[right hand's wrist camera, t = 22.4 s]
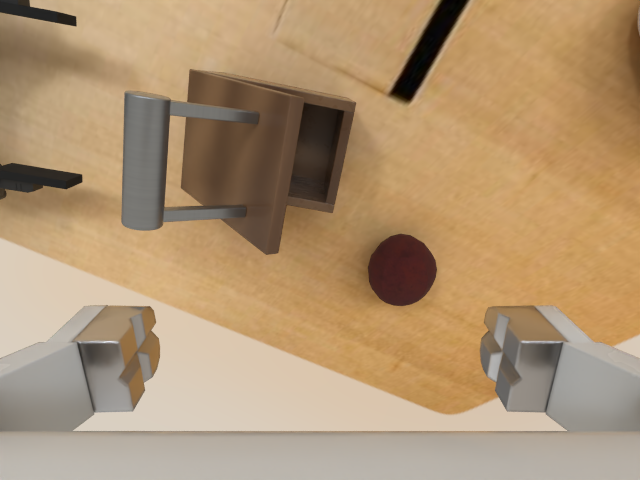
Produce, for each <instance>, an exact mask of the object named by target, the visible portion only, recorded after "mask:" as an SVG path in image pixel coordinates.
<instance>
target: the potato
mask: <svg viewBox="0 0 640 480" xmlns="http://www.w3.org/2000/svg"><path fill="white" fill-rule="evenodd" d="M368 272H369V282H370V285H371V287H372V289H373V291H374V292H375V293H376V294H377V296H378V297H379V298H380V299H381V300H383V301H384V302H386V303H388V304H391V305H396V306H405V305H410V304H413V303H415V302H417V301H419V300H420V299H421V298H423V297H424V296H425V295H426V294H427V292H428V291H429V290H430V288H431V286H432V285H433V282H434V280H435V277H436V272H437V267H436V262H435V259H434V257H433V255H432V253H431V252H430V251H429V249H428V248H427V247H426V245H425V244H424V243H422V242H421V241H419V240H417V239H416V238H414V237H412V236H410V235H404V234H398V235H394V236H390V237H389V238H388V239H386V240H385V241H383V242H382V243H381V244H380V245H379V246H378V248H377V249H376V250H375V252H374V253H373V254H372V255H371V259H370V262H369V266H368Z"/></svg>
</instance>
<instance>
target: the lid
mask: <svg viewBox="0 0 640 480" xmlns="http://www.w3.org/2000/svg"><path fill="white" fill-rule="evenodd" d="M303 105H304V98H302V97H299V96H295V95H291V94H287V93H283V92H279V91H276V90H272V89H268V88H264V87H260V86H256V85H253V84H249V83H245V82H241V81H237V80H233V79H229V78H226V77H222V76H218V75H214V74H210V73H206V72H203V71H198V70H193V69H190V73H189V86H188V100H187V102H180V101H173V100H171V99H170V98H168V97H165V96H161V95H157V94H151V93H145V92H138V91H125V98H124V140H123V182H122V224H123V225H124V226H125V227H127V228H130V229H134V230H155V229H158V228H161V227H162V226H163V222H171V221H189V220H206V219H221V220H222V221H224V222H225V223H226V224H228V225H229V226H230V227H231V228H233V229H234V230H235V231H236V232H238V233H239V234H240V235H242V236H243V237H244V238H245V239H247V240H248V241H249V242H251V243H252V244H253V245H254V246H256V247H257V248H258V249H259V250H261V251H262V252H263V253H265V254H266V255H268V254H276V253H278V252H279V246H280V240H281V234H282V228H283V222H284V216H285V210H286V205H287V199H288V193H289V187H290V181H291V175H292V169H293V163H294V158H295V152H296V146H297V140H298V134H299V128H300V122H301V116H302V110H303ZM170 115H173V116H182V117H186V126H185V140H184V153H183V166H182V180H181V188H182V189H183V190H184V191H185V192H187V193H188V194H189V195H191V196H192V197H193V198H194V199H196V200H197V201H198V202H199V203H201V204H202V205H203V206H185V207H164V203H165V187H166V171H167V154H168V138H169V122H170Z"/></svg>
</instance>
